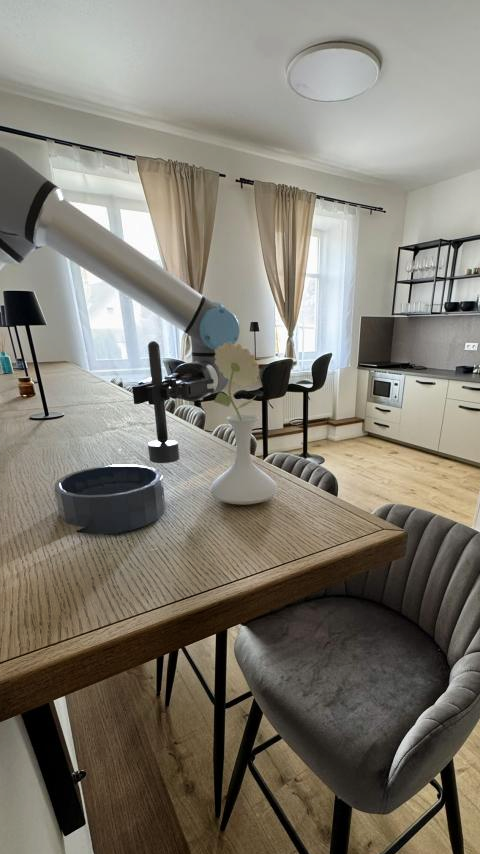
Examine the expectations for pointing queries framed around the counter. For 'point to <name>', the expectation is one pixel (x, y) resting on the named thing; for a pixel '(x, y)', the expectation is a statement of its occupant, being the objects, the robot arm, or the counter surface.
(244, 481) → the flower in vase
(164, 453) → the rod with disc base
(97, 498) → the bowl
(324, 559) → the counter surface
